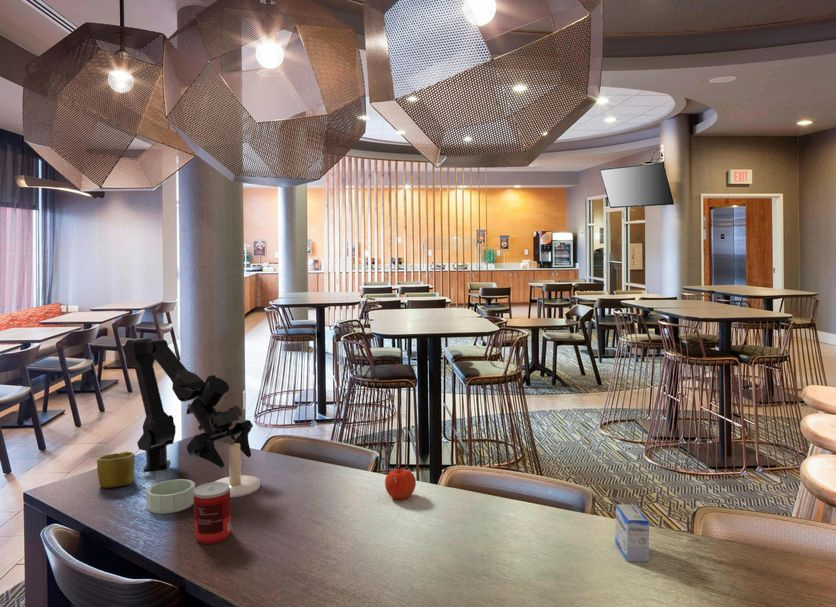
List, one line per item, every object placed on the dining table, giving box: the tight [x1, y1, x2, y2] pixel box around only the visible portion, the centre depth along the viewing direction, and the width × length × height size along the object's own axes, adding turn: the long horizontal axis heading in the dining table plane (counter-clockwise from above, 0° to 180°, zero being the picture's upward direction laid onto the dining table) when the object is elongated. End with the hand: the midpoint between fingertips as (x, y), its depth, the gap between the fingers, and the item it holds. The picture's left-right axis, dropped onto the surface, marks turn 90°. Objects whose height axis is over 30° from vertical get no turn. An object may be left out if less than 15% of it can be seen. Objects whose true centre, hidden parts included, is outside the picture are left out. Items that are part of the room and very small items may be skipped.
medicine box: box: [614, 504, 650, 563], centre depth 120 cm, size 8×4×9 cm, turn 178°
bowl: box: [145, 478, 196, 515], centre depth 147 cm, size 11×11×4 cm
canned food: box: [193, 481, 232, 545], centre depth 130 cm, size 8×8×11 cm
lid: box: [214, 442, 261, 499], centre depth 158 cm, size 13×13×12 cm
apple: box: [384, 466, 417, 500], centre depth 150 cm, size 8×8×8 cm
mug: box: [96, 450, 136, 489], centre depth 163 cm, size 12×10×10 cm
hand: (237, 461), depth 157 cm, fingers open, 9 cm apart
